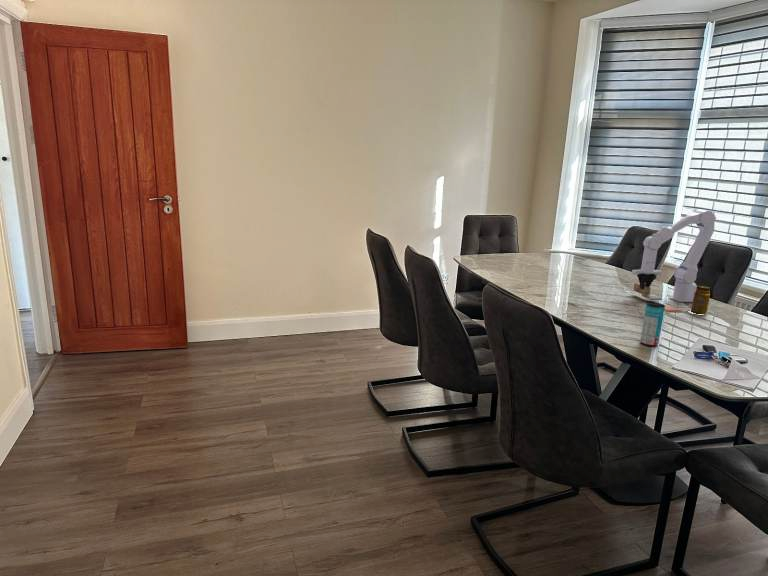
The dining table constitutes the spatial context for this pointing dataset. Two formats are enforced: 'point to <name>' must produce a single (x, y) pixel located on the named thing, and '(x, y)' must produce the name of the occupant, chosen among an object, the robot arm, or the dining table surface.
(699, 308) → the condiment
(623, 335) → the dining table surface
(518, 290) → the dining table surface
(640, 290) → the tall wooden plank
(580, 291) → the dining table surface
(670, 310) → the tile
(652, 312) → the beverage can
